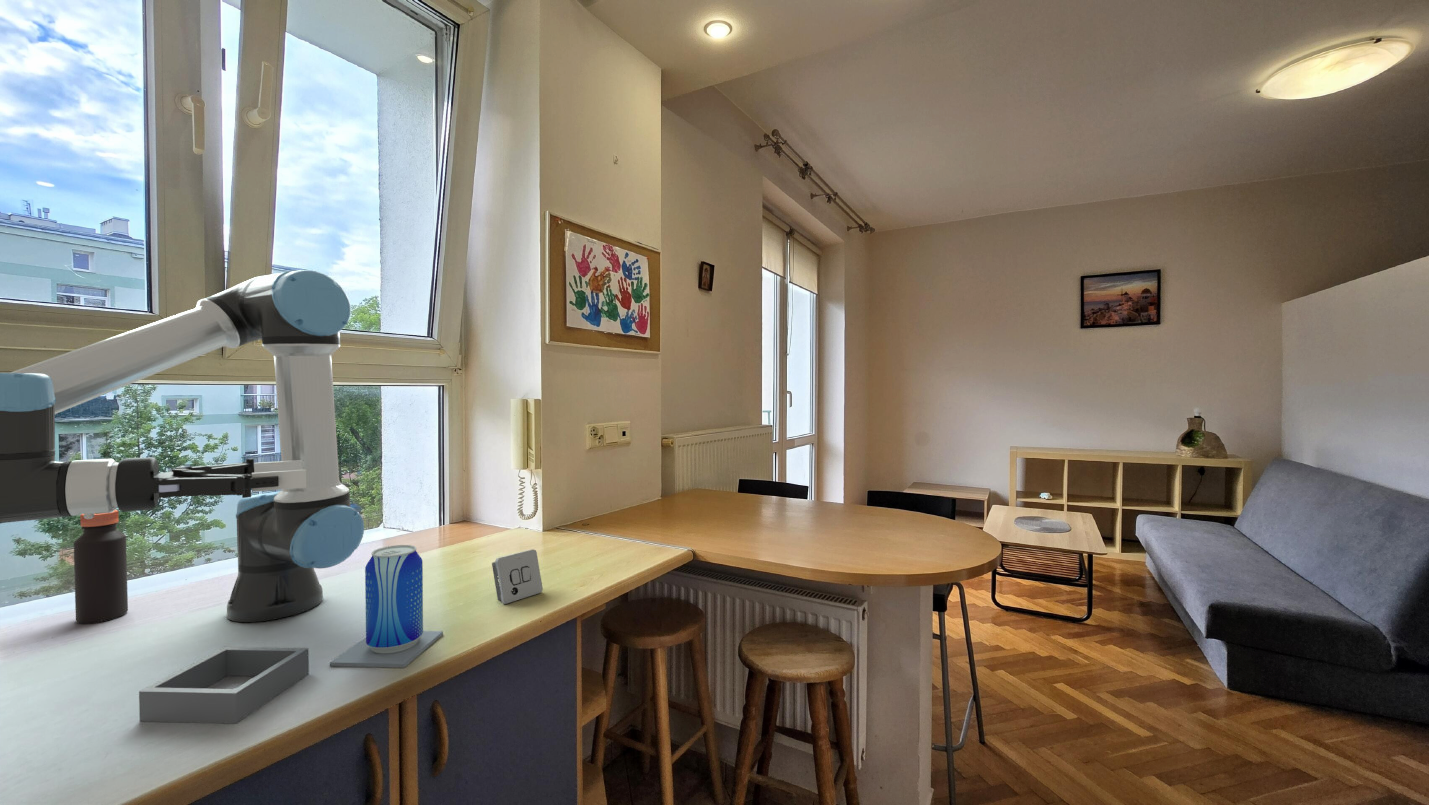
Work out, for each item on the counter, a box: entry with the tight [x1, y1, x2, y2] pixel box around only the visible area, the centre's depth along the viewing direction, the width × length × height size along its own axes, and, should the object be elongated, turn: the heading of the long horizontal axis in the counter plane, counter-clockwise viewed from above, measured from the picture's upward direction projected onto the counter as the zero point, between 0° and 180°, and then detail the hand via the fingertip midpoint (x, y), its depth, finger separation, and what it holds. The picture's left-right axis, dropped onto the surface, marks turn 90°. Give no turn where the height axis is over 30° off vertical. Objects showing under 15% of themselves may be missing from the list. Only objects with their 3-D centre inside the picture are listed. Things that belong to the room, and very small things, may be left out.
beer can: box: [364, 544, 424, 654], centre depth 97 cm, size 8×8×16 cm
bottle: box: [73, 509, 129, 625], centre depth 109 cm, size 7×7×20 cm
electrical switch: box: [491, 548, 544, 605], centre depth 122 cm, size 9×5×9 cm, turn 141°
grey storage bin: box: [138, 646, 310, 724], centre depth 82 cm, size 13×13×4 cm
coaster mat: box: [329, 630, 444, 668], centre depth 97 cm, size 12×12×1 cm
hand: (304, 472), depth 94 cm, fingers open, 13 cm apart
